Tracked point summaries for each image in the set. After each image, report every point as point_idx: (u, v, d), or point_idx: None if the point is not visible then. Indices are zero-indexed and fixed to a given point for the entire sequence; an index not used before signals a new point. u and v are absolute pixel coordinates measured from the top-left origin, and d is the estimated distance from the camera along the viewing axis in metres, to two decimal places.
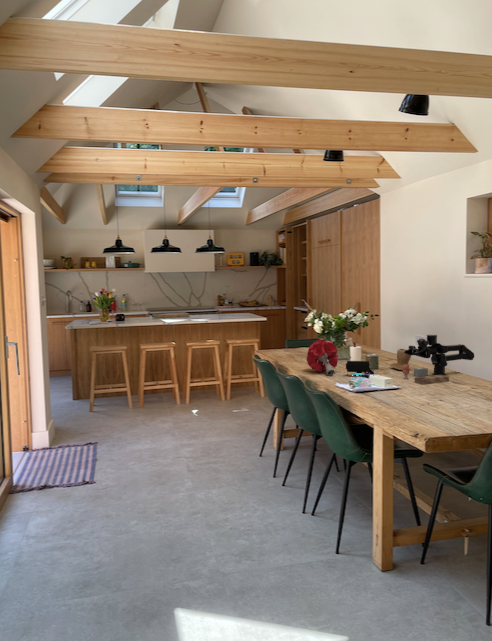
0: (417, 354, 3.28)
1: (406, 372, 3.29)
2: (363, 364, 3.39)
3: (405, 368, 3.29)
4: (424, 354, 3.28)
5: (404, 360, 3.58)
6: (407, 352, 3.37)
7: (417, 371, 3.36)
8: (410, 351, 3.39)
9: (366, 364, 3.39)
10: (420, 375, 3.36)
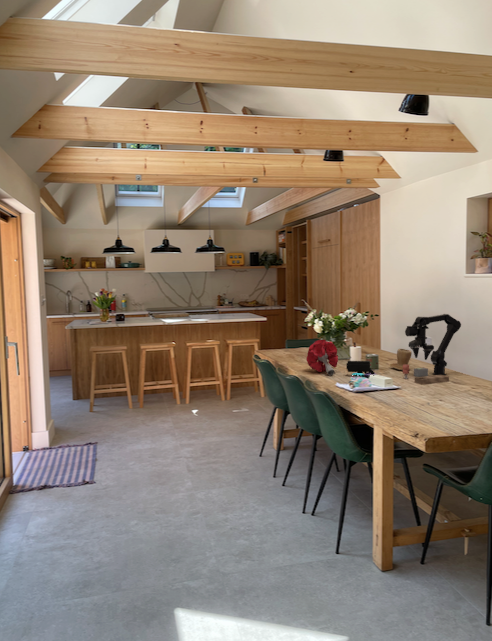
0: (427, 356, 3.33)
1: (406, 372, 3.29)
2: (364, 364, 3.39)
3: (405, 368, 3.29)
4: (429, 350, 3.31)
5: (404, 360, 3.58)
6: (416, 354, 3.43)
7: (417, 371, 3.36)
8: (416, 350, 3.43)
9: (367, 364, 3.39)
10: (420, 375, 3.36)
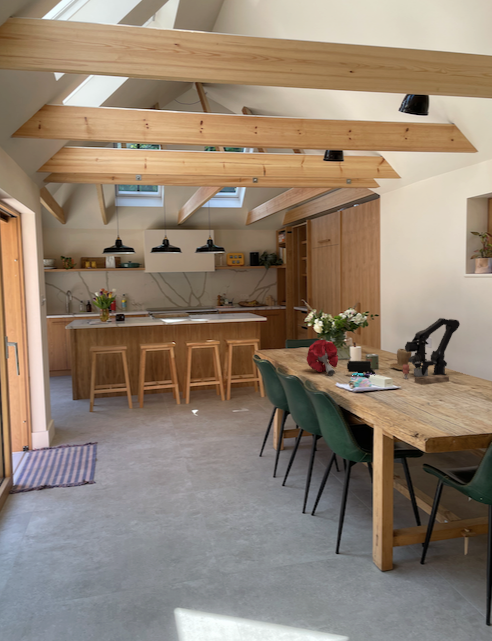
0: (424, 371, 3.36)
1: (406, 372, 3.29)
2: (364, 364, 3.39)
3: (405, 368, 3.29)
4: (426, 365, 3.34)
5: (404, 360, 3.58)
6: None
7: (417, 371, 3.36)
8: (418, 366, 3.41)
9: (367, 364, 3.39)
10: (420, 375, 3.37)
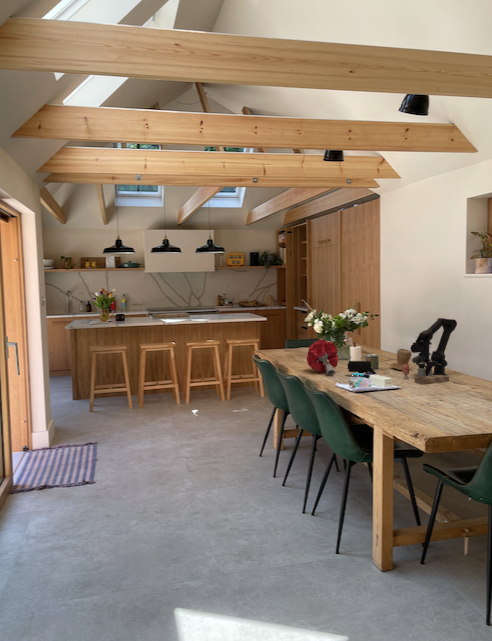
0: (428, 372, 3.33)
1: (406, 372, 3.29)
2: (365, 364, 3.39)
3: (405, 368, 3.29)
4: (430, 366, 3.31)
5: (404, 360, 3.58)
6: None
7: (421, 371, 3.33)
8: (422, 366, 3.38)
9: (368, 364, 3.38)
10: (424, 376, 3.33)
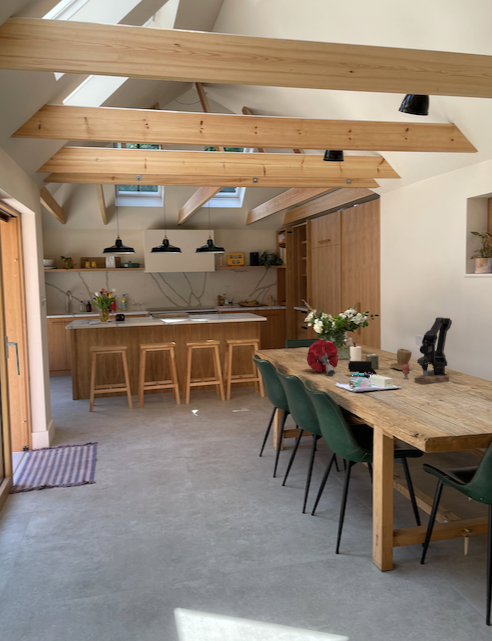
0: (436, 373, 3.26)
1: (406, 372, 3.29)
2: (365, 364, 3.39)
3: (405, 368, 3.29)
4: (438, 367, 3.24)
5: (404, 360, 3.58)
6: (425, 370, 3.35)
7: (426, 373, 3.28)
8: (425, 366, 3.35)
9: (368, 364, 3.38)
10: None
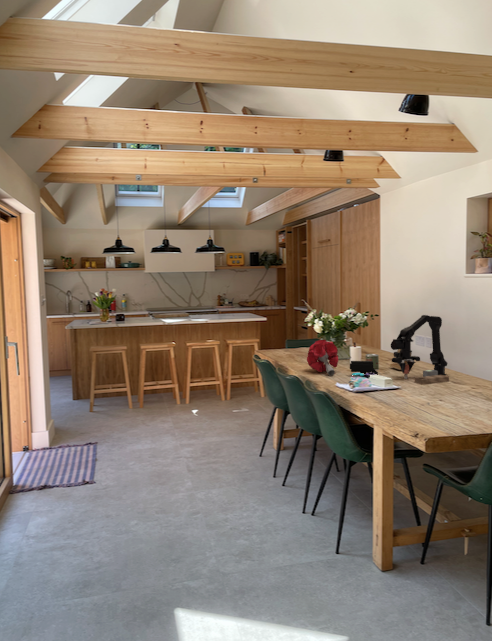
0: (402, 369, 3.29)
1: (406, 372, 3.29)
2: (367, 364, 3.39)
3: (405, 368, 3.29)
4: None
5: None
6: (409, 368, 3.31)
7: (426, 373, 3.28)
8: (409, 364, 3.31)
9: (370, 364, 3.38)
10: None
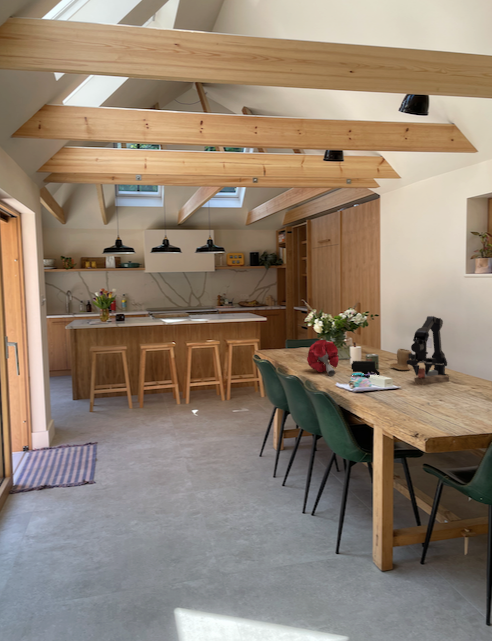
0: (416, 372, 3.14)
1: (422, 376, 3.15)
2: (369, 364, 3.38)
3: (420, 372, 3.15)
4: (414, 365, 3.13)
5: (404, 360, 3.58)
6: (426, 370, 3.17)
7: None
8: (426, 366, 3.17)
9: (372, 364, 3.38)
10: None
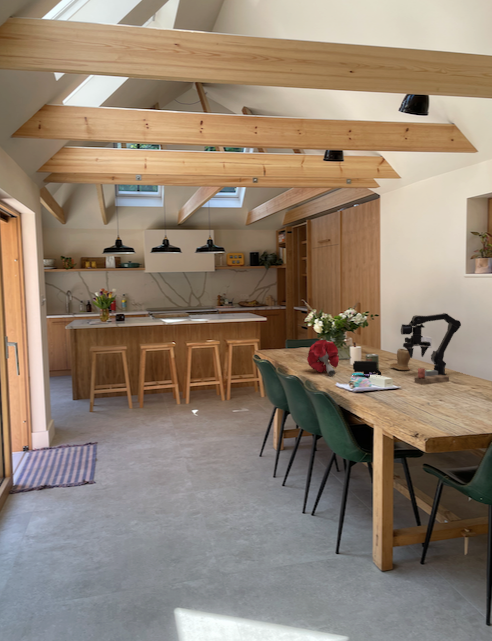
0: (410, 354, 3.40)
1: (422, 376, 3.15)
2: (370, 364, 3.38)
3: (421, 372, 3.15)
4: (408, 348, 3.38)
5: (404, 360, 3.58)
6: (422, 353, 3.43)
7: (426, 373, 3.29)
8: (422, 349, 3.43)
9: (373, 364, 3.38)
10: None
